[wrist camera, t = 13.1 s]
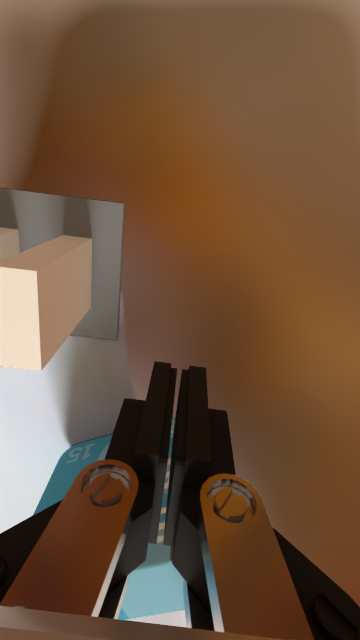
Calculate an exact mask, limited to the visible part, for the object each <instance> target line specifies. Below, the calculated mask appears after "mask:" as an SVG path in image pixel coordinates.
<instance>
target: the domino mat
mask: <svg viewBox="0 0 360 640" xmlns="http://www.w3.org/2000/svg"><path fill="white" fill-rule="evenodd" d="M124 211H125V203H119V202H111V201H103V200H95V199H87V198H79V197H71V196H63V195H56V194H47V193H39V192H31V191H23V190H15V189H7V188H0V227H2V228H10V229H18V230H19V245H20V253H21V252H24V251H26V250H28V249H31V248H33V247H35V246H38V245H40V244H43V243H45V242H47V241H50V240H52V239H54V238H57V237H59V236H62V235H67V236H75V237H84V238H92V286H91V308H90V309H89V311H88V312H87V313H86V314H85V316H84V317H83V318H82V320H81V321H80V322H79V323H78V325H77V326H76V327H75V328H74V330H73V331H72V332H71V334H70V335H73V336H81V337H90V338H99V339H107V340H116V341H117V339H118V328H119V308H120V289H121V269H122V250H123V228H124Z"/></svg>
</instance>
